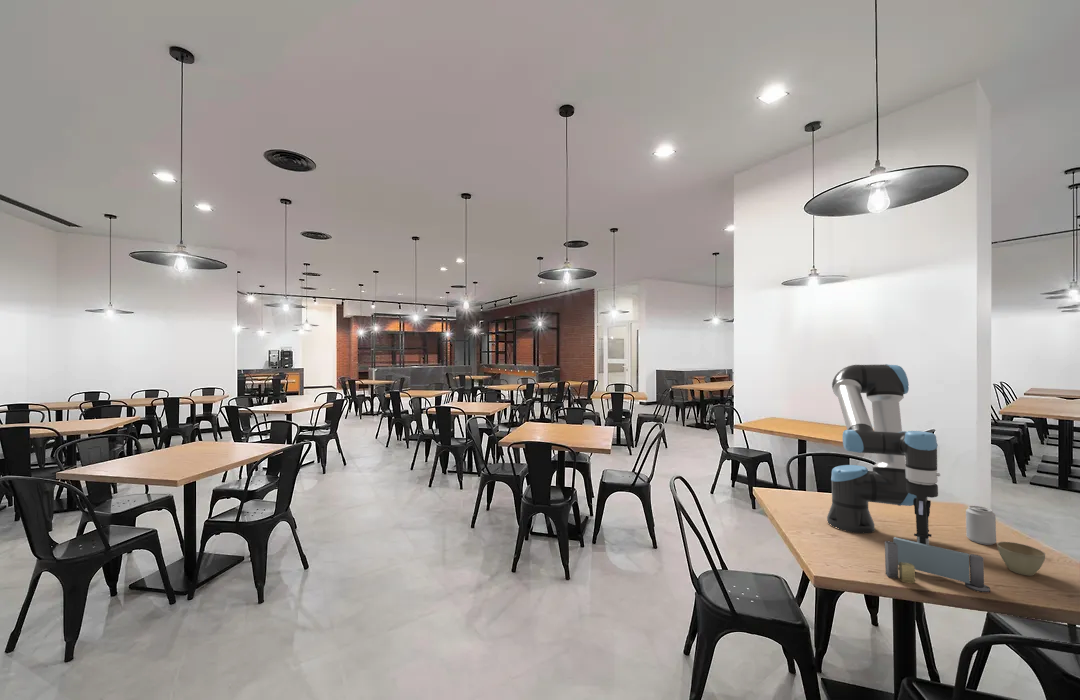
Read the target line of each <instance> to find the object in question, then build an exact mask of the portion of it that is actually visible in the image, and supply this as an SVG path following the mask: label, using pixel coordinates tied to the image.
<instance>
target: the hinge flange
mask: <svg viewBox="0 0 1080 700" xmlns="http://www.w3.org/2000/svg"><path fill="white" fill-rule="evenodd" d="M964 586H965V588H968V589H969V590H971V589H972V591H974V590H975V592H977V591H979V592H978V593H982V592H989V593H990V592H991V589H990V587H989V586H988V585H986V584H984V587H977V586H974V585H972V584H971V583H970V584H969V583H965V582H964Z"/></svg>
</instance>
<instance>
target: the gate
mask: <svg viewBox="0 0 1080 700" xmlns="http://www.w3.org/2000/svg"><path fill="white" fill-rule="evenodd" d="M892 540H893V541H892V542H895V543H896V544H897V545H898V566H899V562H903V563H911V564H912V565H913V566H914V567H915V570H916V571H919V572H924V573H927V574H932V575H935V576H939V577H943V578H947V579H950V580H955V581H957V582H962V583H964V584H965V583H969V584H970V583H971V584H972V585H974V586H977V587H984V585H985V571H984V569H985V568H984V566H985V565H984V557H983V556H981V555H978V554H972V553H971V554H970V553H966V552H961V551H958V550H952V549H949V548H943V547H939V546H934V545H930V544H929V545H927V544H922V543H918V542H917V541H913V540H910V539H909V540H908V539H903V538H899V537H894V536H893V539H892Z"/></svg>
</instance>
